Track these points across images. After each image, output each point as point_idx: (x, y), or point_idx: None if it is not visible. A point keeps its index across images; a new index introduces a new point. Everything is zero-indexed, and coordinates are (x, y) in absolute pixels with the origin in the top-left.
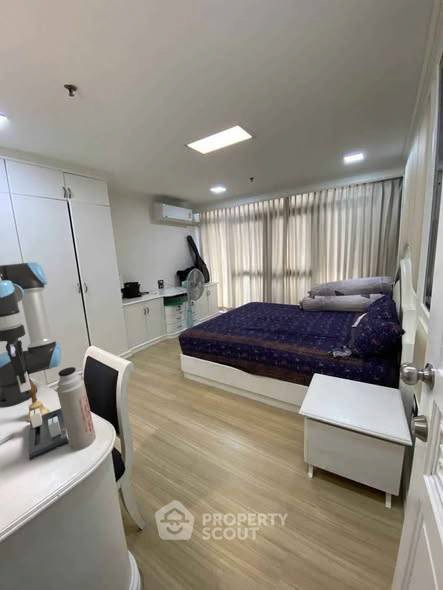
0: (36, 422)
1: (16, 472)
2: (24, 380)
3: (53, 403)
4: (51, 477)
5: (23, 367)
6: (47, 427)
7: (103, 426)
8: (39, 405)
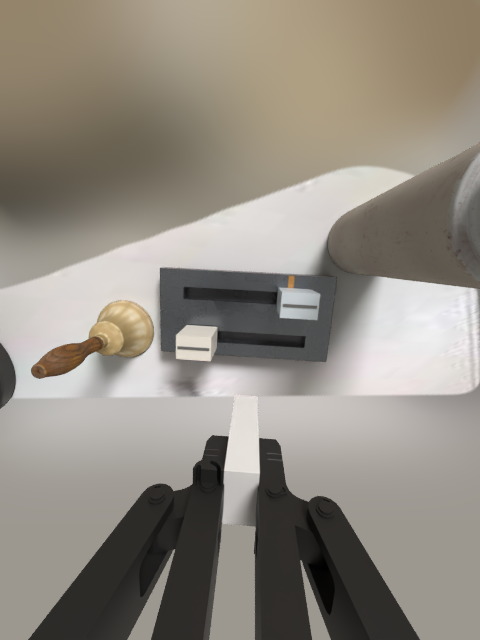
0: (215, 341)
1: (338, 378)
2: (280, 456)
3: (84, 287)
4: (421, 321)
5: (335, 556)
6: (242, 315)
7: (339, 178)
8: (119, 328)
